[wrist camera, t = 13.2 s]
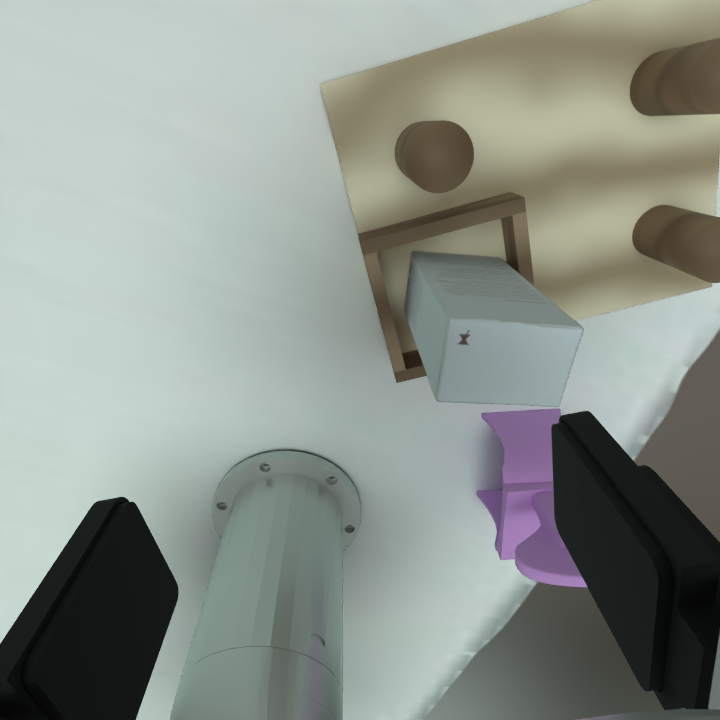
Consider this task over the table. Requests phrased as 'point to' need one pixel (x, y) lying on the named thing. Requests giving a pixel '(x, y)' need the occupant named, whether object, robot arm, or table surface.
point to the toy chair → (528, 498)
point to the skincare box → (487, 332)
